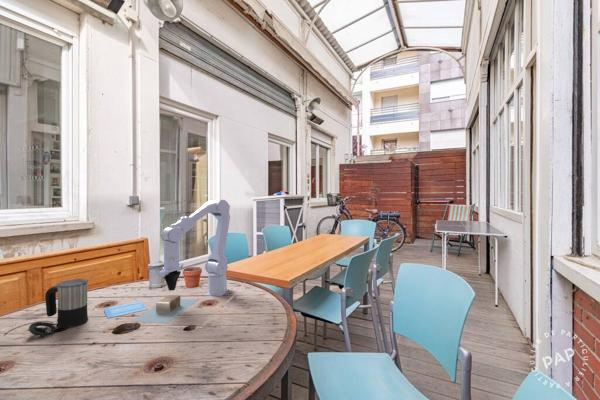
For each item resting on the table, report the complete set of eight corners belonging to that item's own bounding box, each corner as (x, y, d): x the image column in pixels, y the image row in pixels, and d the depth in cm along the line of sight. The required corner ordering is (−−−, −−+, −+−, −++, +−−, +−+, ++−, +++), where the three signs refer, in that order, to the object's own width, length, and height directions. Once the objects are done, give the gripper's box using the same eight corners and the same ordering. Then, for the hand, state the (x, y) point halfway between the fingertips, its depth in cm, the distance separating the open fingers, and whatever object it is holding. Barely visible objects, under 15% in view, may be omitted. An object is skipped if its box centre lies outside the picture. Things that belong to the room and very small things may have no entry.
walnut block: (169, 295, 124) (155, 302, 115) (180, 295, 123) (167, 303, 114) (169, 304, 124) (155, 313, 115) (180, 305, 123) (167, 313, 115)
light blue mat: (168, 299, 132) (168, 298, 132) (198, 300, 130) (198, 299, 130) (131, 322, 108) (131, 321, 108) (167, 324, 106) (167, 323, 106)
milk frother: (92, 316, 114) (92, 277, 113) (75, 334, 98) (74, 290, 98) (48, 320, 109) (47, 281, 109) (22, 341, 94) (21, 294, 94)
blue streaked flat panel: (141, 303, 128) (141, 300, 128) (147, 312, 119) (147, 309, 119) (103, 311, 120) (103, 308, 119) (107, 321, 110) (107, 317, 110)
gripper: (172, 253, 129) (172, 284, 129) (151, 260, 115) (151, 295, 115) (187, 253, 128) (187, 284, 129) (168, 261, 114) (168, 296, 114)
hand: (171, 289), depth 122 cm, fingers closed
